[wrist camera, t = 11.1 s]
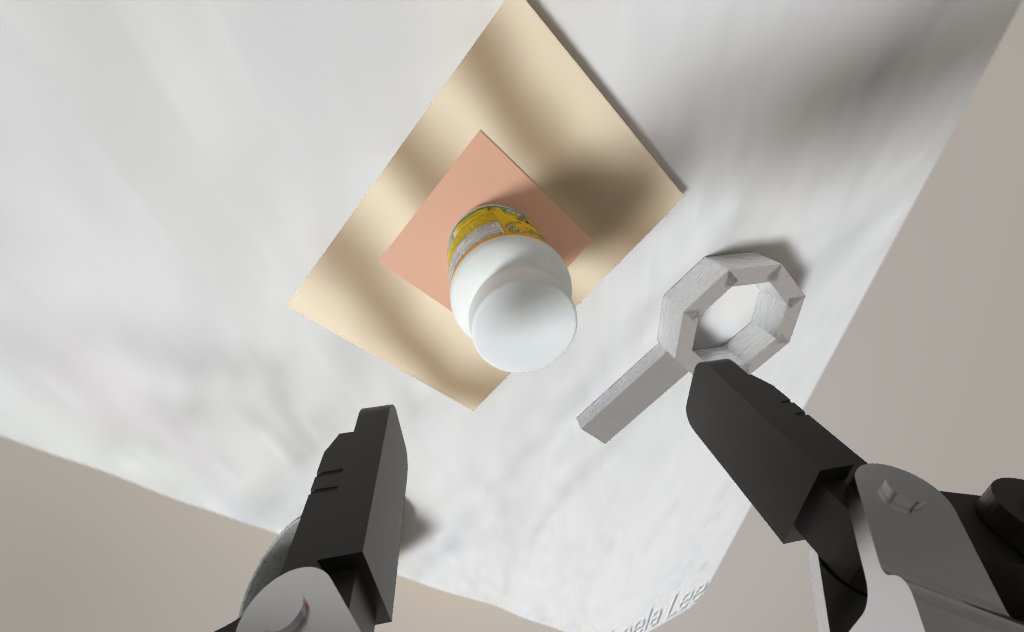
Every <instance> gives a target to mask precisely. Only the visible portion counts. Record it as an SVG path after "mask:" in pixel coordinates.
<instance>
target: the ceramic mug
mask: <svg viewBox="0 0 1024 632" xmlns="http://www.w3.org/2000/svg"><path fill="white" fill-rule="evenodd" d="M300 518H301V517H300ZM300 518H298V519H296V520H295V521H294V522H292V523H291V524H290V525H289V526H288V527H287V528H285V529H284V531H283V532H282V533H281V534H280V535H279V536H278V537H277V538H276V540H275V541H274V542H273V544H272V545H271V546H270V548H269V549H268V551H267V552H266V554H265V555H264V556H263V558H262V559H261V561H260V563H259V565H258V567H257V569H256V571H255V572H254V574H253V577H252V579H251V581H250V583H249V585H248V588H247V590H246V592H245V595H244V599H243V601H242V604H241V608H240V613H239V617H238V618H240V617H241V616H242V615H243V614H244V612H245V610H246V609H247V607H248V606H249V604H250V603H251V602H252V600H253V599H254V598H255V597H256V596H257V594H258V593H259V592H260V591H261V590H262V589H263V588H264V587H266V586H267V585H268V584H269V583H271V582H272V581H273V580H275V579H276V578H278V576H279V574H280V572H281V570H282V568H283V565H284V563H285V560H286V557H287V555H288V552H289V549H290V546H291V543H292V541H293V538H294V535H295V532H296V530H297V527H298V524H299V521H300Z"/></svg>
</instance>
